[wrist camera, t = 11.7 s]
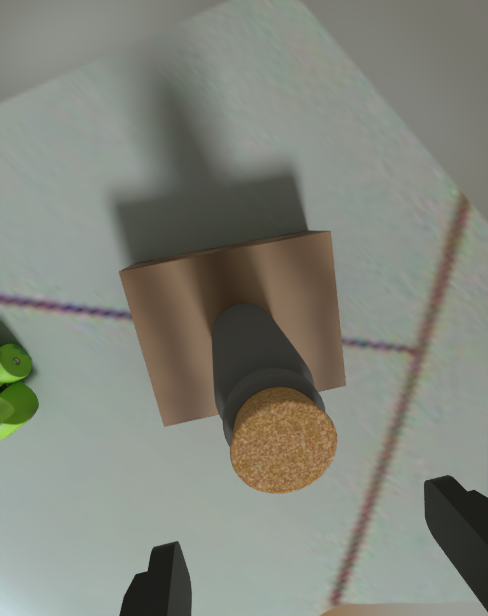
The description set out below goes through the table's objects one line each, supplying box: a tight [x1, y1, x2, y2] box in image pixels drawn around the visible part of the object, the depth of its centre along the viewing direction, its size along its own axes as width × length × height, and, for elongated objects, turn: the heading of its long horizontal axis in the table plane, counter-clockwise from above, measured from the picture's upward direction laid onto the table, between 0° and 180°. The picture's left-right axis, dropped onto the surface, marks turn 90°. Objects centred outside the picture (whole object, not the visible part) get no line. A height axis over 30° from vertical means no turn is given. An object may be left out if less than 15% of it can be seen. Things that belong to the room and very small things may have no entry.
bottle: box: [212, 303, 337, 494], centre depth 20 cm, size 6×6×15 cm
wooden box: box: [119, 231, 346, 427], centre depth 30 cm, size 18×15×6 cm
